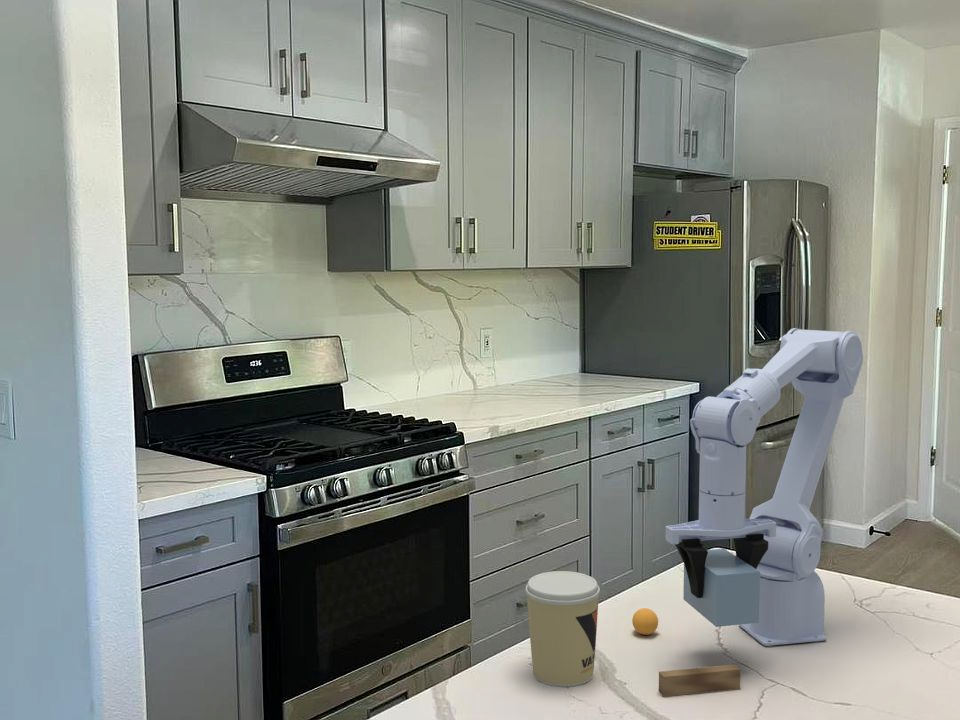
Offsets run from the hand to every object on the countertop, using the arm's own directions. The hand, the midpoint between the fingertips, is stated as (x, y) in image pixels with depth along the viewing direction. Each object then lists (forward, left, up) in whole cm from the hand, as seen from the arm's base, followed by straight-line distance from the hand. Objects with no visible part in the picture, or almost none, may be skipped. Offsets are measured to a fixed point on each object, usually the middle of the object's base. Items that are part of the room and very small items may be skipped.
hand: (719, 593), depth 123 cm
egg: (+6, -11, -8) cm, 15 cm away
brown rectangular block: (+6, +7, -9) cm, 13 cm away
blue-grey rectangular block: (0, 0, -2) cm, 2 cm away
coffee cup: (+21, -1, -10) cm, 23 cm away
